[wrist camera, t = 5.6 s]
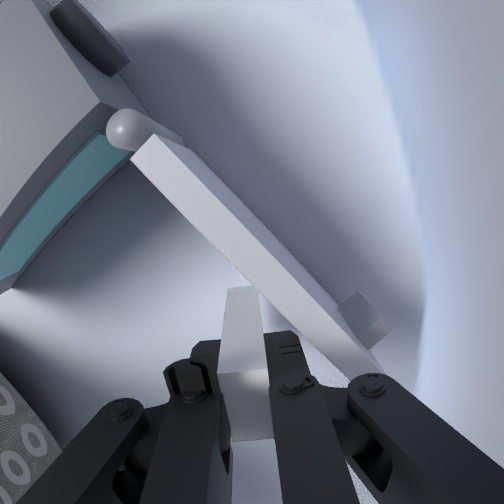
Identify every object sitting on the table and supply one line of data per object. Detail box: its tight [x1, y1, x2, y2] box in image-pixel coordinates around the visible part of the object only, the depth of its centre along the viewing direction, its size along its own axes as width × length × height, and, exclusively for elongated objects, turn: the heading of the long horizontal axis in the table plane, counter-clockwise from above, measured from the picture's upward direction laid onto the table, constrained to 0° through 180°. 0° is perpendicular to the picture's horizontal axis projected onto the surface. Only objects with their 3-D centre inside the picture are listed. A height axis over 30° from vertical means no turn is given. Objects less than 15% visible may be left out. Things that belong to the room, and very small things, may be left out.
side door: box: [106, 108, 391, 381], centre depth 12 cm, size 13×2×6 cm, turn 43°
